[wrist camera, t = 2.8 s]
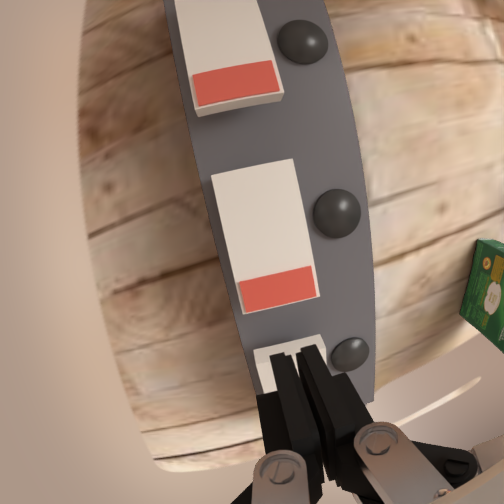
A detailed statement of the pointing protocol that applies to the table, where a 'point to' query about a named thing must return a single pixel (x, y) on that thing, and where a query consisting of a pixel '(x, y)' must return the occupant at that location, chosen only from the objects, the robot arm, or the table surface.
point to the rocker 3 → (288, 348)
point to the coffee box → (486, 292)
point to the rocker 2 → (266, 235)
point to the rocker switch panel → (310, 184)
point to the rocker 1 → (227, 55)
